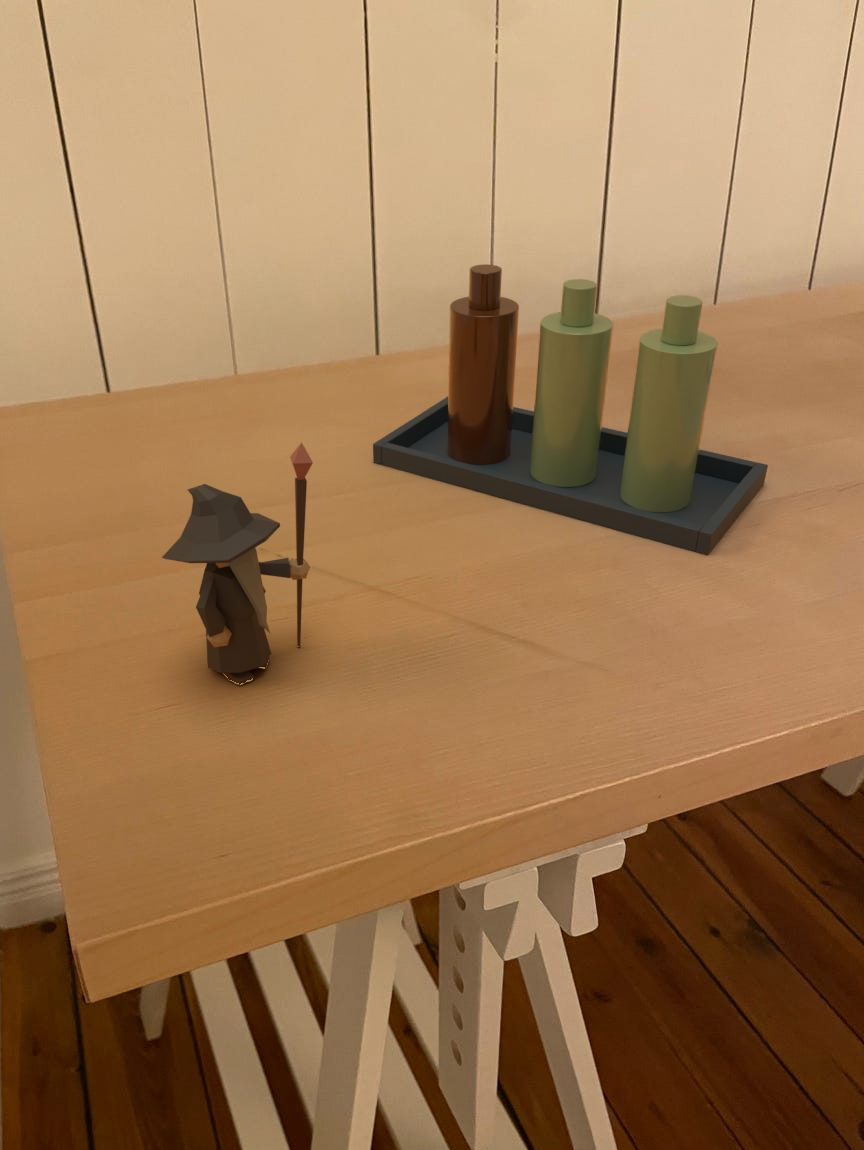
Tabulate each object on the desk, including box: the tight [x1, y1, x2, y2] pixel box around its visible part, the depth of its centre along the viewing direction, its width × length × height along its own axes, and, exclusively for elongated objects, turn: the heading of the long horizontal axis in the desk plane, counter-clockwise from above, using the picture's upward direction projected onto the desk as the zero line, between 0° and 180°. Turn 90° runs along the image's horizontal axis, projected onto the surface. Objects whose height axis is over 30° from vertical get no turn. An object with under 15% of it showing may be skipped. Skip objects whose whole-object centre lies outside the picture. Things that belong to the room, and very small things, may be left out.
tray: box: [372, 396, 769, 556], centre depth 73 cm, size 26×12×2 cm, turn 56°
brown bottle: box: [447, 263, 520, 465], centre depth 73 cm, size 5×5×14 cm
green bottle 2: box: [620, 294, 719, 513], centre depth 66 cm, size 5×5×14 cm
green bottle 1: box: [530, 278, 614, 487], centre depth 69 cm, size 5×5×14 cm
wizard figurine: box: [161, 442, 314, 685], centre depth 53 cm, size 8×6×12 cm
